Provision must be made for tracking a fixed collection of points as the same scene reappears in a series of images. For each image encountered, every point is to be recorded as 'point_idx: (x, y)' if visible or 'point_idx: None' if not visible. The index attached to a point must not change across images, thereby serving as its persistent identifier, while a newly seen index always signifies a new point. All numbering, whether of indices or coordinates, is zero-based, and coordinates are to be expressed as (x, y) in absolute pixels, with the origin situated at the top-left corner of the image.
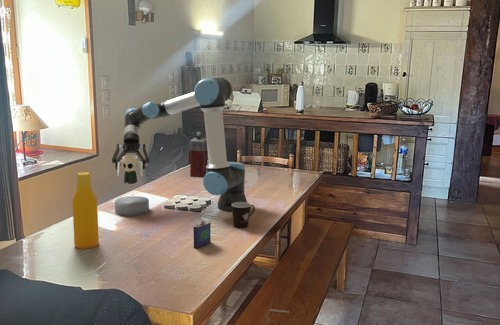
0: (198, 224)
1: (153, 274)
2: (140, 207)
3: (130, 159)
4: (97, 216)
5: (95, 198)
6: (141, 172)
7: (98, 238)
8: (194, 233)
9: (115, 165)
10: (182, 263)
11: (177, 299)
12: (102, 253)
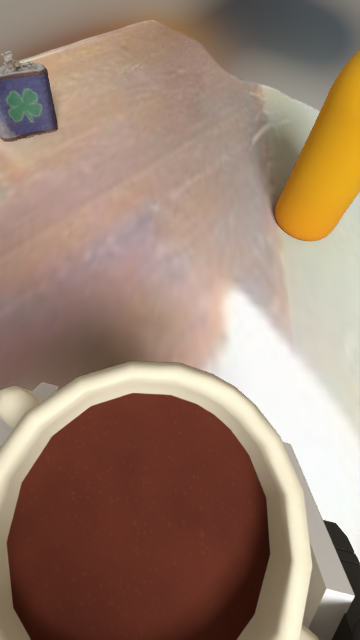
0: (25, 70)
1: (174, 84)
2: None
3: (163, 368)
4: (307, 140)
5: (342, 69)
6: (44, 386)
7: (279, 199)
8: (49, 85)
9: (357, 561)
10: (112, 92)
11: (158, 37)
12: (261, 171)
